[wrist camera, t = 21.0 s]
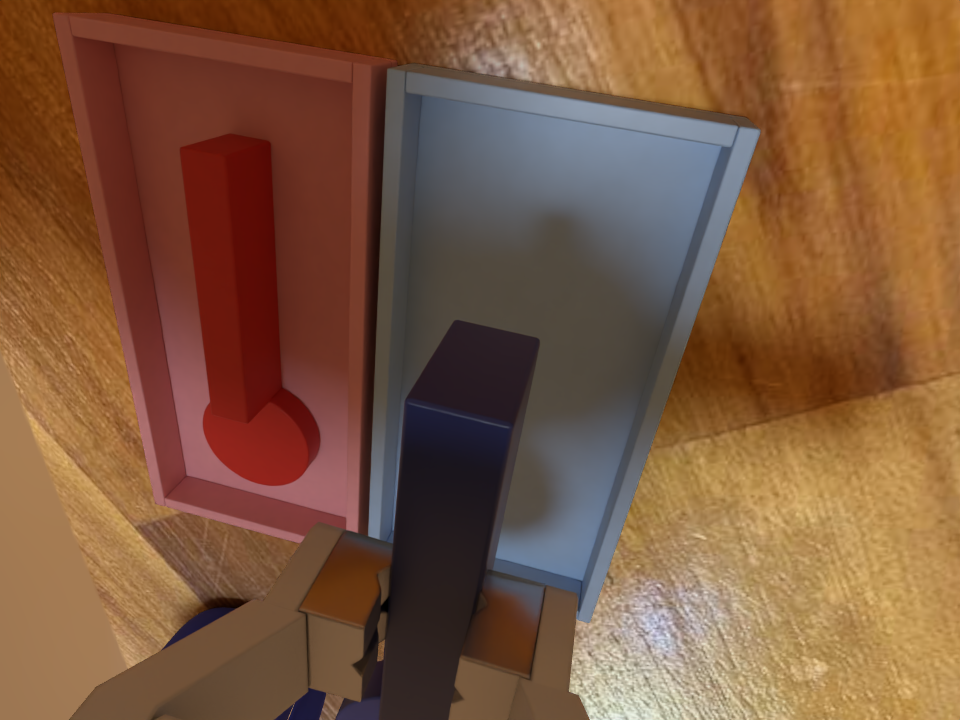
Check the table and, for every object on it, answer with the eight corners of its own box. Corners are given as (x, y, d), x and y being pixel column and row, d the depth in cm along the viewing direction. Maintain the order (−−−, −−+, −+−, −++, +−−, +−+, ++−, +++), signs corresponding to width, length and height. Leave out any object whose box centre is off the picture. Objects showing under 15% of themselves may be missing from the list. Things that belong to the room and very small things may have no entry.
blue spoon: (363, 296, 10) (288, 370, 8) (639, 358, 9) (640, 456, 7) (348, 736, 16) (306, 837, 14) (505, 787, 16) (486, 900, 14)
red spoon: (183, 123, 18) (126, 136, 16) (318, 149, 18) (277, 166, 16) (222, 455, 25) (185, 494, 23) (320, 482, 25) (292, 523, 23)
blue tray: (384, 526, 26) (366, 562, 24) (412, 62, 17) (386, 67, 15) (592, 582, 25) (589, 624, 23) (748, 116, 15) (762, 129, 14)
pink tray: (185, 473, 27) (154, 504, 25) (106, 12, 18) (51, 12, 16) (375, 524, 26) (357, 559, 24) (398, 60, 17) (371, 65, 15)
